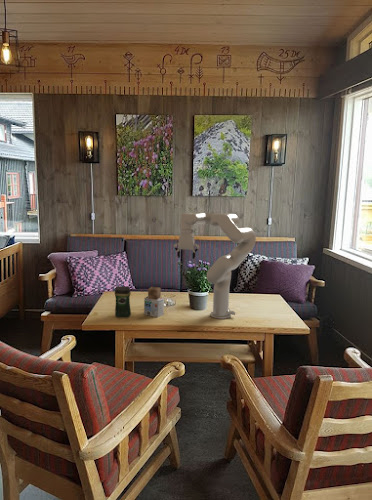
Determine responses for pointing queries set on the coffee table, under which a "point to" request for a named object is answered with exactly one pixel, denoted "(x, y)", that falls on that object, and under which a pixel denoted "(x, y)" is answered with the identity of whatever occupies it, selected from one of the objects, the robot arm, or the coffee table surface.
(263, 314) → the coffee table surface
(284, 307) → the coffee table surface
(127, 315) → the coffee jar
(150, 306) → the light bulb box
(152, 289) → the walnut cube
